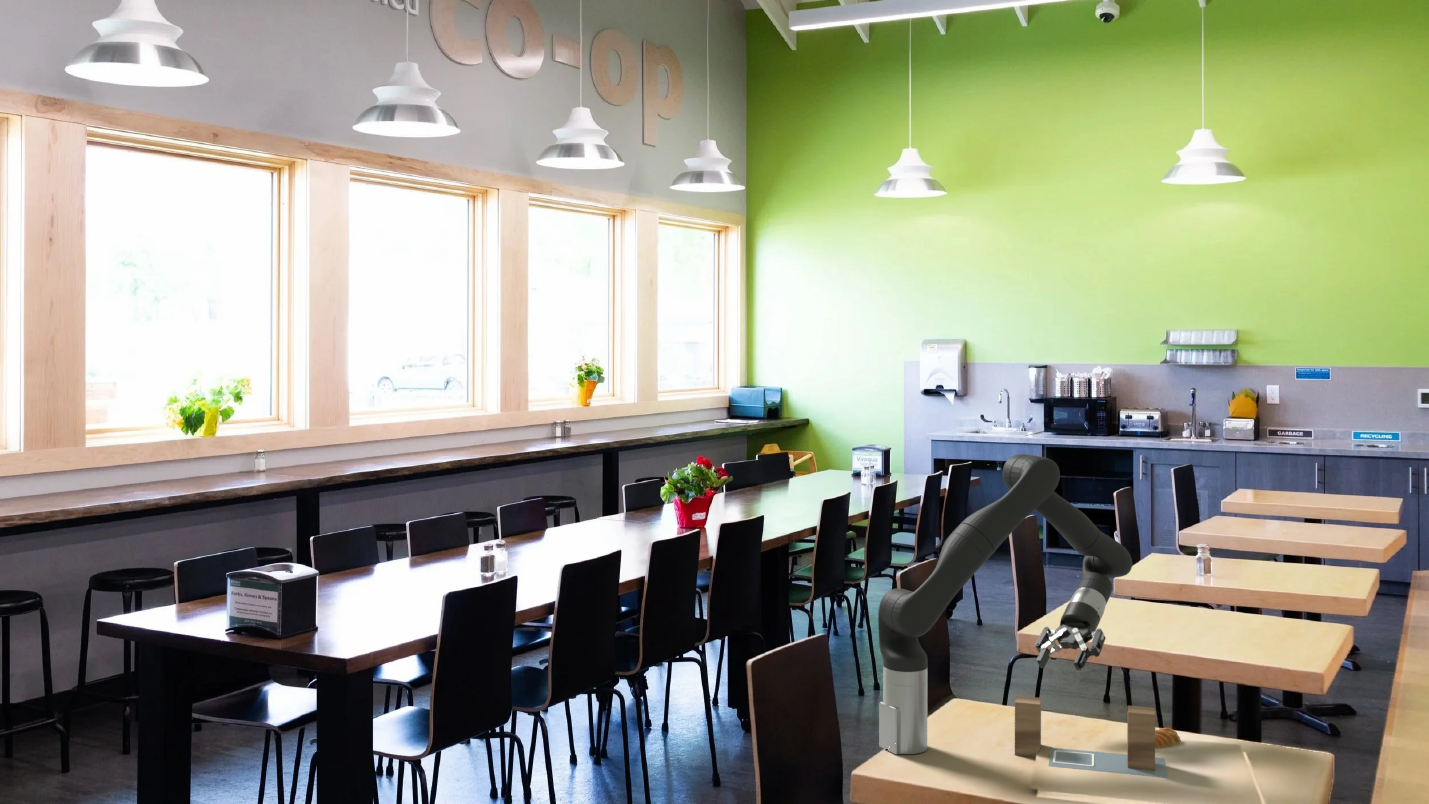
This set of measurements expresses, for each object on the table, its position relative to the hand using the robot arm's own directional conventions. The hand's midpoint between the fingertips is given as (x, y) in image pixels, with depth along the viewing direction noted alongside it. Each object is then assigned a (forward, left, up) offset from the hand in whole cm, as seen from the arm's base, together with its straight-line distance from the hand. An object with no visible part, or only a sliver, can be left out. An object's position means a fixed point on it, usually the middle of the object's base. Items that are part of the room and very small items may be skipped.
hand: (1058, 666), depth 245 cm
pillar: (-9, -1, -17) cm, 19 cm away
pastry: (+18, -11, -17) cm, 27 cm away
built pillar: (+3, -20, -15) cm, 26 cm away
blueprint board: (-2, -16, -17) cm, 23 cm away
